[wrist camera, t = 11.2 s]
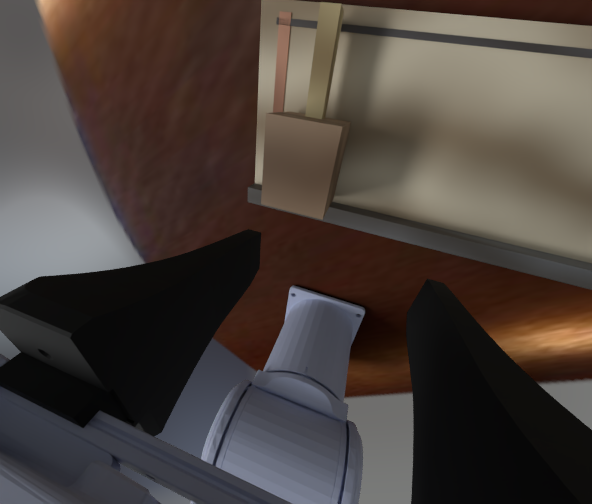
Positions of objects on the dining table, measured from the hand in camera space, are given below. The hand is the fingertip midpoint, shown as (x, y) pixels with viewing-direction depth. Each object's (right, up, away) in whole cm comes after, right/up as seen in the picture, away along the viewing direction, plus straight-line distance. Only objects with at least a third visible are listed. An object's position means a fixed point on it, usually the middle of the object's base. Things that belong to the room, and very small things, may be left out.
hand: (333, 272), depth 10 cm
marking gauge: (0, +9, +5) cm, 11 cm away
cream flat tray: (+9, +7, +5) cm, 13 cm away
